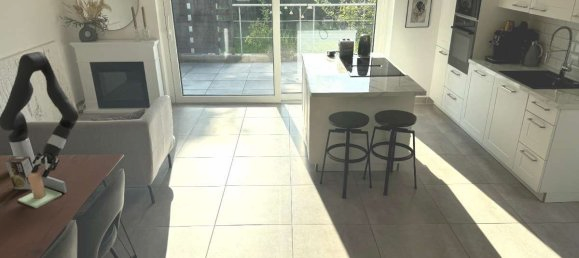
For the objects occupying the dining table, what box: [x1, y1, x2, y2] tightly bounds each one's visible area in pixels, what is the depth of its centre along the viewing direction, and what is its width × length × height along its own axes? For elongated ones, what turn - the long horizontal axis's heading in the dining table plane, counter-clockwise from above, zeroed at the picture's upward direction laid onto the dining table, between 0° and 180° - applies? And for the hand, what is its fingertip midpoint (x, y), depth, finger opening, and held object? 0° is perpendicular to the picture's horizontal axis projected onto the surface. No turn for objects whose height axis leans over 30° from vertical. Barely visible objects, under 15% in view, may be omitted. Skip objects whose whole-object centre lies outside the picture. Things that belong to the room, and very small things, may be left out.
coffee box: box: [5, 155, 33, 190], centre depth 201 cm, size 9×6×16 cm
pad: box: [17, 186, 62, 209], centre depth 193 cm, size 14×13×1 cm
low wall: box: [41, 175, 68, 194], centre depth 201 cm, size 17×1×6 cm, turn 63°
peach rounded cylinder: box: [28, 171, 46, 199], centre depth 191 cm, size 5×5×12 cm
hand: (38, 175), depth 191 cm, fingers open, 8 cm apart
